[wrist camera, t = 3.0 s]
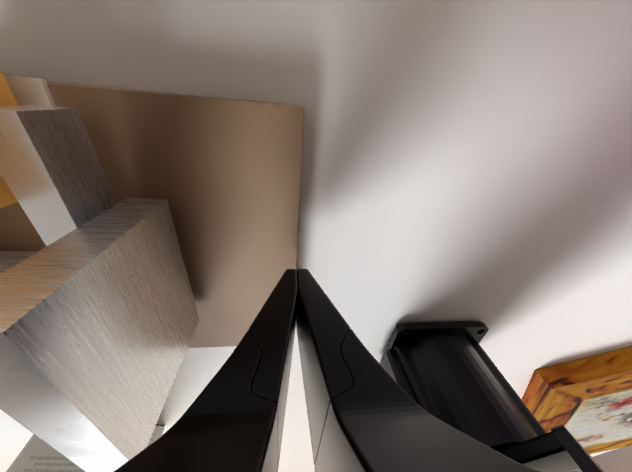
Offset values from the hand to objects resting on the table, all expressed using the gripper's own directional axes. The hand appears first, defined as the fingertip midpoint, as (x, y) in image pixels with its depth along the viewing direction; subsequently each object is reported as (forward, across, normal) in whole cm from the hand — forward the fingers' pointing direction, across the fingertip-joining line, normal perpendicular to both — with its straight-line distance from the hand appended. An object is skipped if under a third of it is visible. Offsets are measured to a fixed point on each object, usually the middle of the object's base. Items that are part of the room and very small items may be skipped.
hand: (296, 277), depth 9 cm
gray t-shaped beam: (0, +8, -1) cm, 8 cm away
